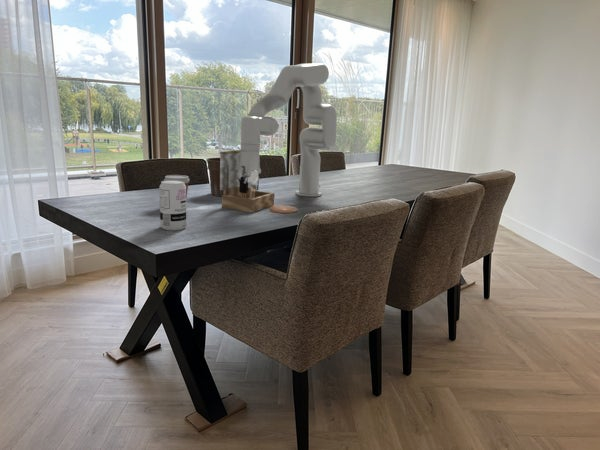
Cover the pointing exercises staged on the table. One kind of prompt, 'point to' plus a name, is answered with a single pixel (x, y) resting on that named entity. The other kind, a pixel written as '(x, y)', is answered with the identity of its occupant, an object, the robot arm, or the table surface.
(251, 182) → the beer glass
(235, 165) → the open wooden box
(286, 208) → the saucer
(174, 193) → the supplement can
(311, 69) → the robot arm
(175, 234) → the table surface
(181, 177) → the disposable coffee cup
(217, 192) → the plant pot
